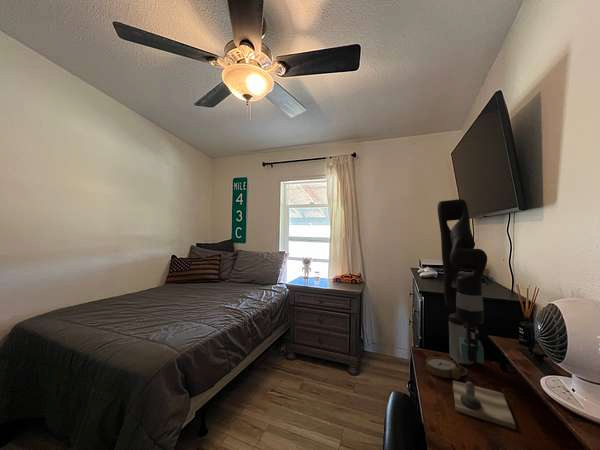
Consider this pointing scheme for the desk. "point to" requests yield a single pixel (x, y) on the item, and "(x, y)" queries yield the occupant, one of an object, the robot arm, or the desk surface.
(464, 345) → the teal square frame
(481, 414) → the post board
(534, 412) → the desk surface
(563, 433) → the desk surface
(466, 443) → the desk surface
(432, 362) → the alarm clock
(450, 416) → the desk surface
